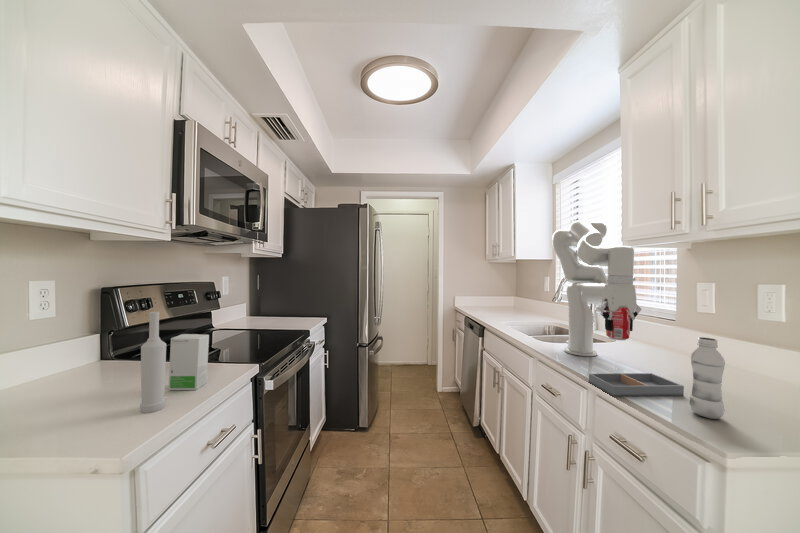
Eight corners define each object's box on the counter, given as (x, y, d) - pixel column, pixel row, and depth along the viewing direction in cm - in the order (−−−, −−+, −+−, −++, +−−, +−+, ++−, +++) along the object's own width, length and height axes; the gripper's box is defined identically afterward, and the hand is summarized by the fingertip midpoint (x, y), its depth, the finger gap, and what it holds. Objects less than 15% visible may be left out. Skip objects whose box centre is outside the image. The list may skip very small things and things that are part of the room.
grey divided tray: (588, 382, 103) (588, 373, 103) (651, 382, 104) (651, 373, 104) (613, 396, 92) (613, 386, 92) (683, 396, 93) (683, 386, 93)
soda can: (622, 336, 115) (623, 304, 115) (634, 341, 108) (635, 307, 108) (601, 335, 116) (602, 303, 116) (612, 340, 109) (613, 306, 109)
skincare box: (167, 391, 92) (168, 338, 92) (180, 382, 98) (181, 333, 98) (197, 390, 93) (198, 338, 93) (208, 382, 99) (209, 333, 99)
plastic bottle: (716, 413, 82) (717, 337, 82) (730, 425, 76) (731, 343, 76) (684, 408, 85) (685, 335, 85) (696, 419, 78) (697, 340, 78)
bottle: (140, 407, 81) (142, 311, 81) (165, 402, 84) (166, 310, 84) (139, 415, 77) (140, 314, 77) (165, 409, 80) (166, 312, 80)
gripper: (634, 280, 116) (633, 327, 116) (589, 279, 115) (588, 328, 115) (652, 281, 108) (650, 332, 109) (604, 281, 107) (602, 332, 108)
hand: (618, 329), depth 112 cm, fingers closed on soda can, 6 cm apart
